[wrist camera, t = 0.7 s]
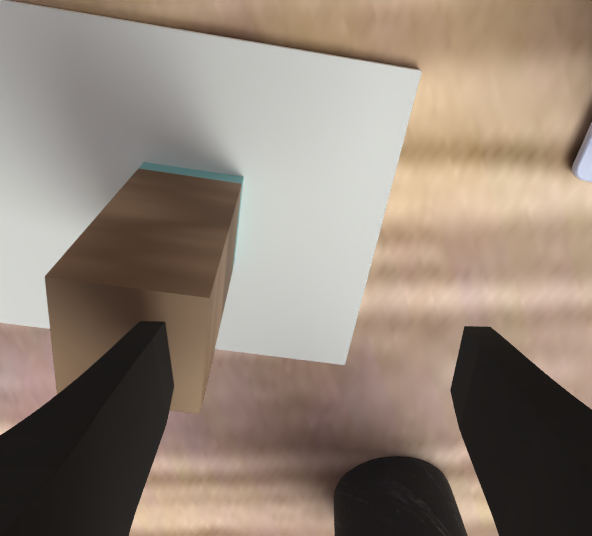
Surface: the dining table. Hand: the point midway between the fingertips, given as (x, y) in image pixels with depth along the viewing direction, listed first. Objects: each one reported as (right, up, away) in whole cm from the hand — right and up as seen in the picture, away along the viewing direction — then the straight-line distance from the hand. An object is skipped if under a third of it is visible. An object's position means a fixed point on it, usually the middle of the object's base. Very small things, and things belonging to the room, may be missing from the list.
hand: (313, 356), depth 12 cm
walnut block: (-5, +4, +9) cm, 11 cm away
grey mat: (-6, +5, +9) cm, 12 cm away
